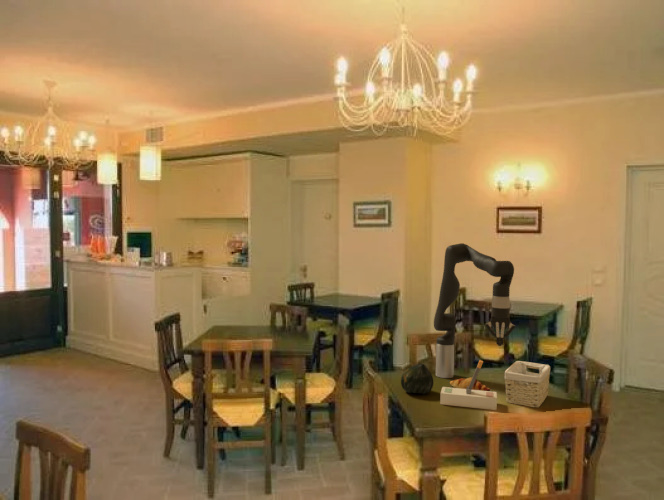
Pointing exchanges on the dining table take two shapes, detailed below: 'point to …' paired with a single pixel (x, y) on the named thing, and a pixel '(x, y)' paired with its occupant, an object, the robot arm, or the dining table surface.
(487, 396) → the switch block
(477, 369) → the lever
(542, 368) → the storage basket
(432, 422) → the dining table surface
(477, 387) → the croissant
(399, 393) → the dining table surface
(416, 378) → the squash
